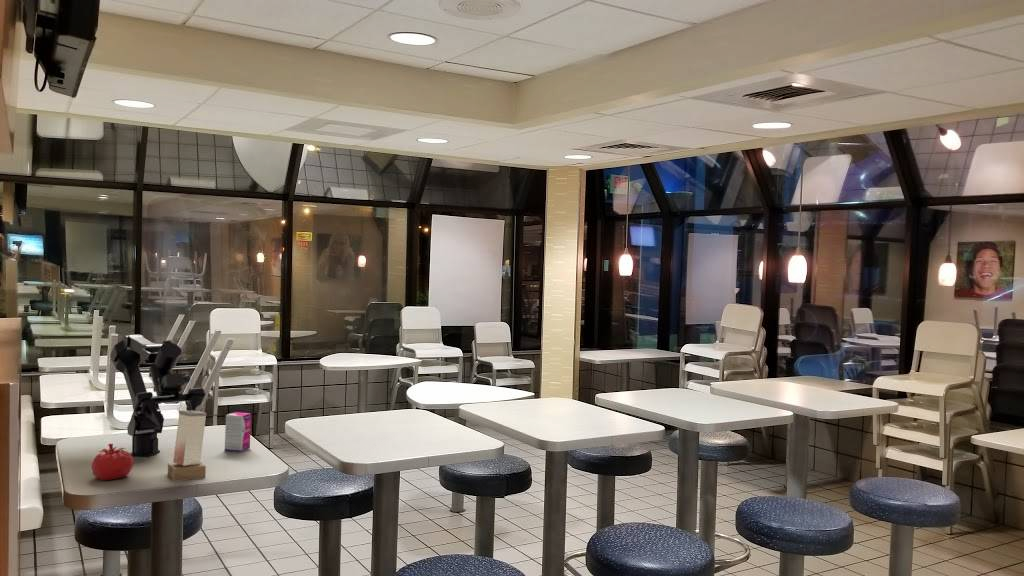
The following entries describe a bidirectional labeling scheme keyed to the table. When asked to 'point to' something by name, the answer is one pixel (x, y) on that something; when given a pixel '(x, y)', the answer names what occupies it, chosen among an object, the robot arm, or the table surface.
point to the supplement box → (237, 431)
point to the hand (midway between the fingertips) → (177, 423)
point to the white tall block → (189, 437)
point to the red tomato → (112, 464)
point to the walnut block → (186, 471)
